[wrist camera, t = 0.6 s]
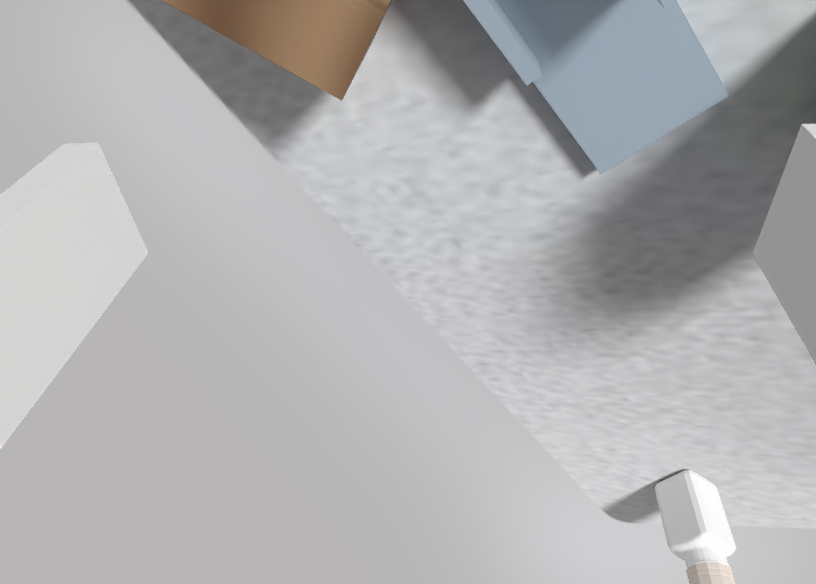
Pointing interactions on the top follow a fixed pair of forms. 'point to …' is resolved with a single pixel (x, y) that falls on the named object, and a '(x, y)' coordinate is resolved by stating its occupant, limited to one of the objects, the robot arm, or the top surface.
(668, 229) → the top surface
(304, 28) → the walnut frame
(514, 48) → the picture ledge
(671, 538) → the pepper shaker
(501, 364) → the top surface
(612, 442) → the top surface
